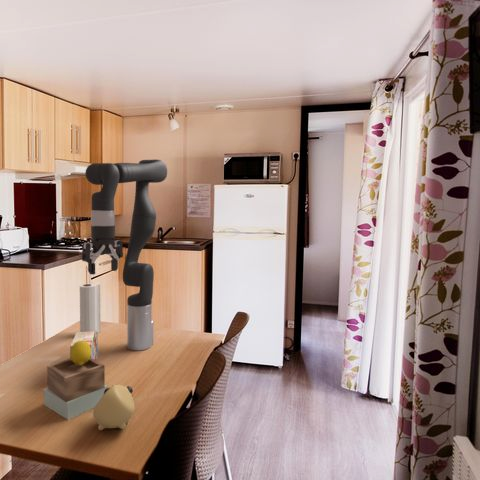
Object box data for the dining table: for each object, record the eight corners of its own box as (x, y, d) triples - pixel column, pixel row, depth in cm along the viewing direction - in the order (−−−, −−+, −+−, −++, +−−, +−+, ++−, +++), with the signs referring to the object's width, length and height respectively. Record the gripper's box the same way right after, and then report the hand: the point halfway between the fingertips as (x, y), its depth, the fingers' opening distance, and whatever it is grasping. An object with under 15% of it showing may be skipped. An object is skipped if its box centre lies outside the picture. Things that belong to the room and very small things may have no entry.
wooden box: (85, 375, 114) (85, 354, 113) (104, 387, 107) (104, 365, 106) (47, 388, 106) (47, 365, 105) (65, 402, 98) (65, 378, 98)
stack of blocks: (80, 356, 139) (79, 323, 138) (98, 354, 140) (97, 322, 139) (70, 383, 118) (69, 345, 117) (91, 381, 120) (91, 343, 119)
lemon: (83, 357, 104) (83, 333, 110) (65, 365, 104) (66, 341, 110) (95, 364, 108) (94, 341, 114) (78, 372, 108) (78, 348, 114)
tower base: (83, 389, 115) (83, 373, 115) (107, 402, 108) (107, 385, 108) (44, 406, 106) (43, 389, 105) (68, 421, 99) (67, 403, 98)
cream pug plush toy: (138, 411, 104) (138, 373, 103) (130, 438, 92) (130, 396, 91) (101, 412, 103) (101, 374, 102) (88, 439, 91) (88, 397, 90)
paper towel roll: (77, 336, 158) (76, 286, 156) (85, 331, 164) (84, 283, 162) (93, 337, 157) (92, 287, 155) (100, 332, 163) (100, 284, 161)
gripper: (113, 223, 133) (113, 268, 135) (76, 224, 121) (77, 274, 123) (127, 224, 129) (127, 270, 130) (90, 225, 117) (91, 277, 119)
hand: (103, 272), depth 127 cm, fingers open, 8 cm apart
